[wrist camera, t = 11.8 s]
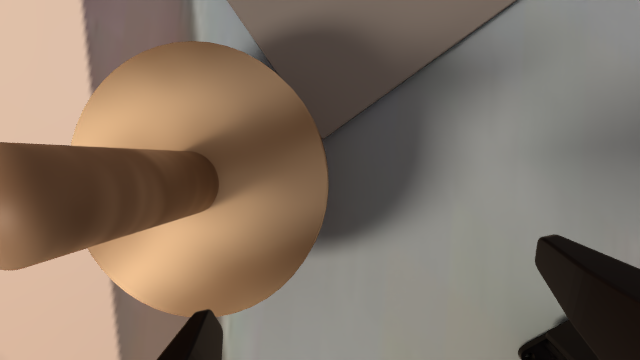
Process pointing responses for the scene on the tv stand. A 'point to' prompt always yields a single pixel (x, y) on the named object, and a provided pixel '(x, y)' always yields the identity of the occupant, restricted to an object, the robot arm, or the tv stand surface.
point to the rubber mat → (356, 45)
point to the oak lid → (175, 182)
